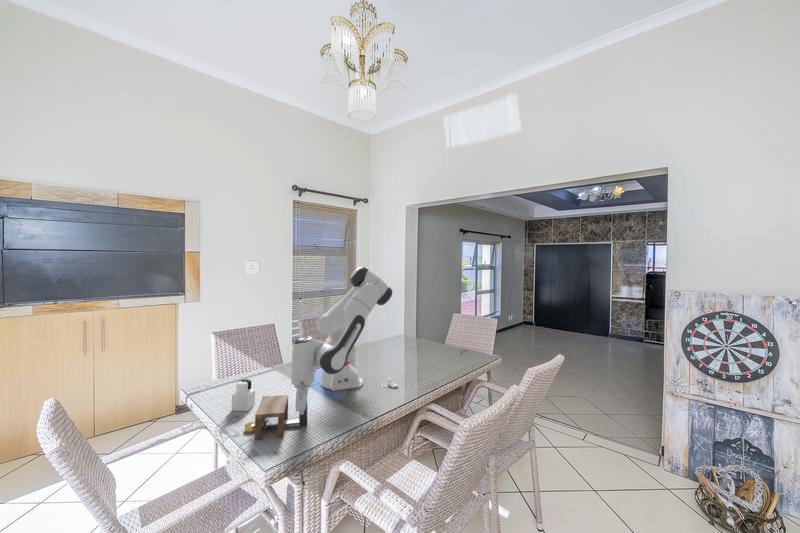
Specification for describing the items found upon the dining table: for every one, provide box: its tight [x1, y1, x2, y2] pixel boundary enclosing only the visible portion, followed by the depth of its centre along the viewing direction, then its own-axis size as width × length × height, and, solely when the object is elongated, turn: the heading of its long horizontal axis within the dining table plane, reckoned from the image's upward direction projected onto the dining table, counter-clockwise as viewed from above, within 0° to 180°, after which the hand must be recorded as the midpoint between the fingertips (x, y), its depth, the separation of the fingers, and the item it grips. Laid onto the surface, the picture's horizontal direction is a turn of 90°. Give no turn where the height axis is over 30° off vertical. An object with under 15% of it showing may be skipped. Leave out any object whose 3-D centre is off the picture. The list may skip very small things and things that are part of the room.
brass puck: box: [244, 421, 255, 434], centre depth 130 cm, size 5×5×2 cm
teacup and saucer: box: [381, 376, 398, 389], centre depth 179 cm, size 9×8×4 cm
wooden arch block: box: [254, 394, 289, 441], centre depth 132 cm, size 10×16×10 cm, turn 13°
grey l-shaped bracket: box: [262, 401, 308, 434], centre depth 133 cm, size 17×8×12 cm, turn 102°
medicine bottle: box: [231, 378, 256, 412], centre depth 148 cm, size 7×7×12 cm
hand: (302, 411), depth 135 cm, fingers closed on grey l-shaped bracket, 2 cm apart
